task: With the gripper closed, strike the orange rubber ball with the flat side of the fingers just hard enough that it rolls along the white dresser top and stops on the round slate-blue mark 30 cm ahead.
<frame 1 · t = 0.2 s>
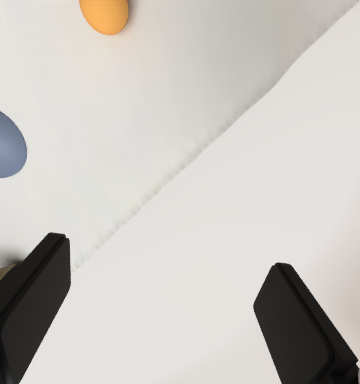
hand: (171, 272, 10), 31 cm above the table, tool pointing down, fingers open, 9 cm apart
cup: (21, 266, 49), on the table
ball: (104, 6, 27), on the table
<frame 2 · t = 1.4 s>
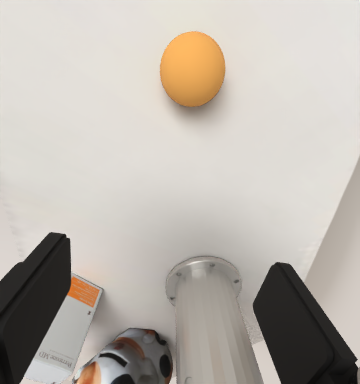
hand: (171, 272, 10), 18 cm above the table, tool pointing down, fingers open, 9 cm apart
skincare box: (82, 285, 35), on the table
lucky cat figurine: (131, 341, 42), on the table
ball: (192, 72, 19), on the table
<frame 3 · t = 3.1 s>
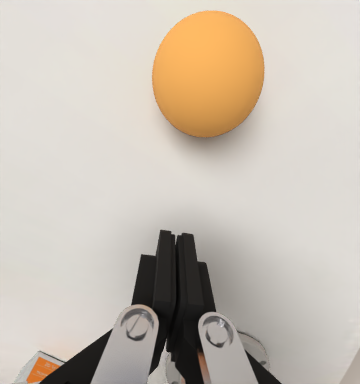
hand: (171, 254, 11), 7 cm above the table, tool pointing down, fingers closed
skincare box: (53, 365, 26), on the table
ball: (206, 81, 12), on the table
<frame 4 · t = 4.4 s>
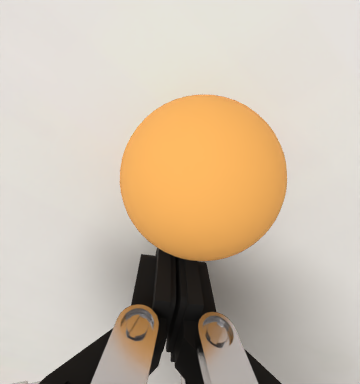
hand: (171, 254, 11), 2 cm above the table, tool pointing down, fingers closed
ball: (200, 179, 8), on the table
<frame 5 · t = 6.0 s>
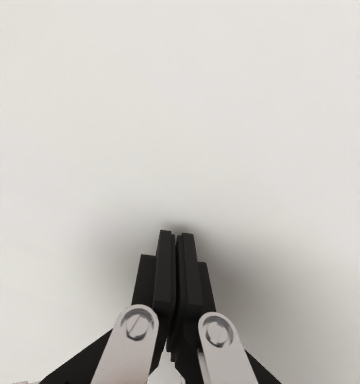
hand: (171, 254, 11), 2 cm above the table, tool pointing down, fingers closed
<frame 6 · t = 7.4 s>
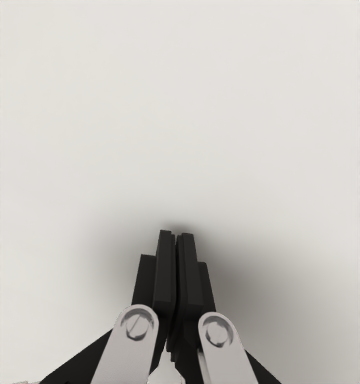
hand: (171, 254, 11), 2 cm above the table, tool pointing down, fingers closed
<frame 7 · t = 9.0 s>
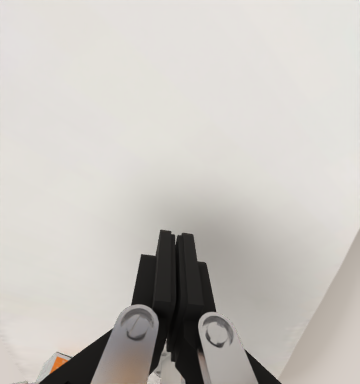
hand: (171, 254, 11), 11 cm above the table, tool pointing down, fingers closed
skincare box: (67, 360, 35), on the table
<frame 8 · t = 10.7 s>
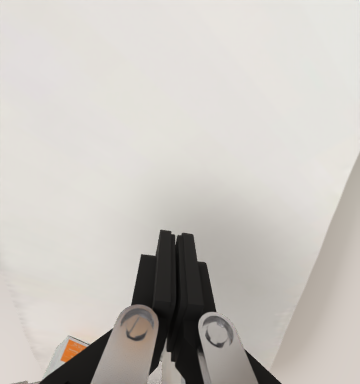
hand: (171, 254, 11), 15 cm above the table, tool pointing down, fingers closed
skincare box: (77, 345, 38), on the table
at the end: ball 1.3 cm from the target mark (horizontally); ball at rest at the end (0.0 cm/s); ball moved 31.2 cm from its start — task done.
